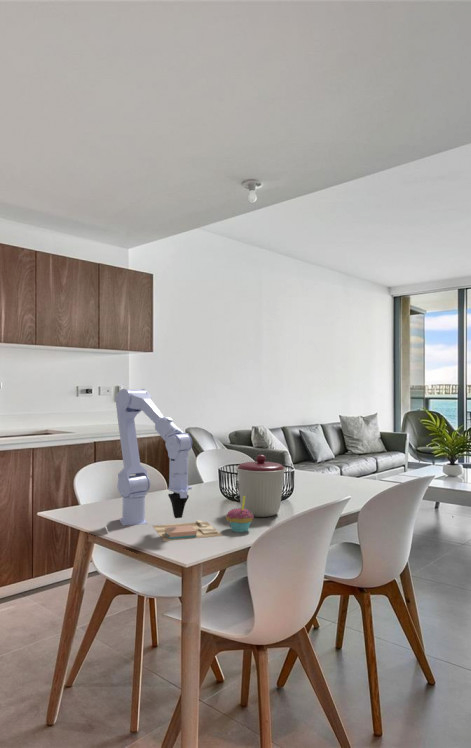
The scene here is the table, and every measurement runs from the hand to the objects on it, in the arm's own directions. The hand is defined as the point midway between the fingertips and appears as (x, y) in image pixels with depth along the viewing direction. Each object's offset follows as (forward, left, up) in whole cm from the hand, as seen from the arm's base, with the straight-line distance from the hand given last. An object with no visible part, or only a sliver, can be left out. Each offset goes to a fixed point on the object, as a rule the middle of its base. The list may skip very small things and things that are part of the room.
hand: (178, 517), depth 163 cm
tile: (0, 0, -3) cm, 3 cm away
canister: (-17, +34, -5) cm, 38 cm away
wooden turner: (-2, +9, -4) cm, 10 cm away
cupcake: (+3, +19, -5) cm, 20 cm away
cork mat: (-1, +3, -5) cm, 6 cm away
